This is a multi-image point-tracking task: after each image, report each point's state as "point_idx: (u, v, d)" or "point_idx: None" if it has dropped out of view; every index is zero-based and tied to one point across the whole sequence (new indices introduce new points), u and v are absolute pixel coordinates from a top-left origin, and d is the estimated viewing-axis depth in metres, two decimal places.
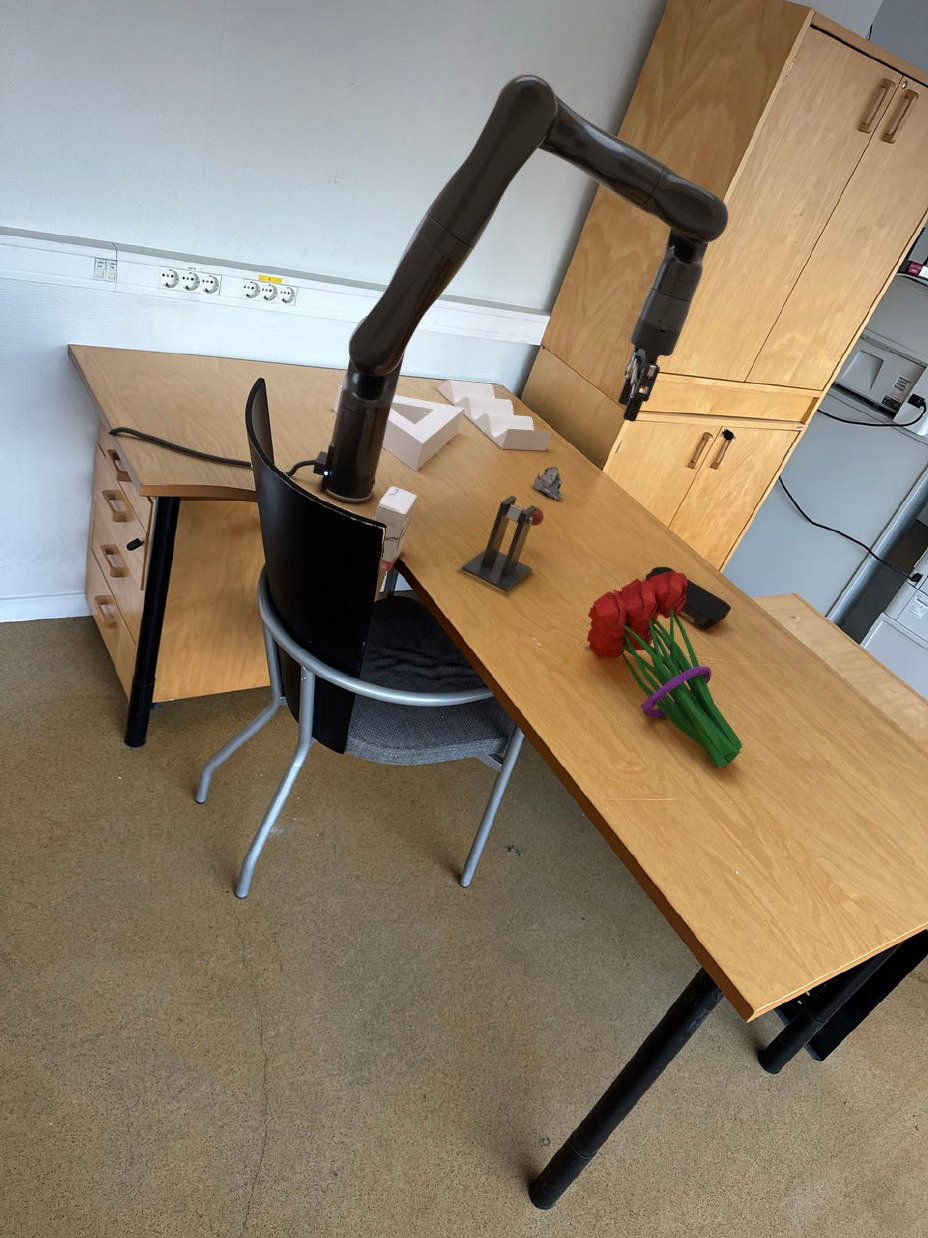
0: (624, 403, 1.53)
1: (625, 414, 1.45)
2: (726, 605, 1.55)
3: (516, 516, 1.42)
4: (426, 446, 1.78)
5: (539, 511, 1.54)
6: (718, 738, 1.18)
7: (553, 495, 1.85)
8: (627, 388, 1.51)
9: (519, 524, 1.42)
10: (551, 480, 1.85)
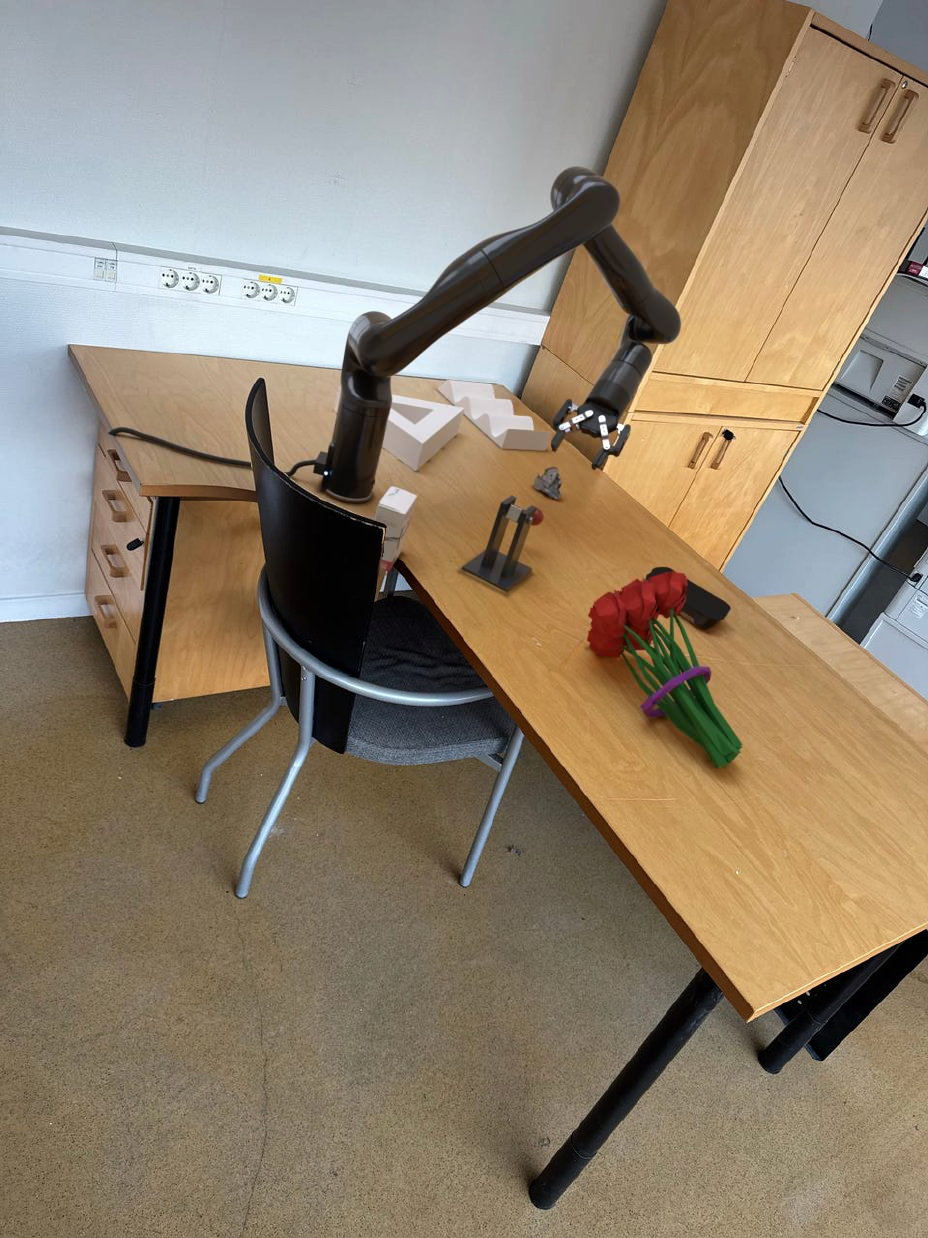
0: (555, 449, 1.61)
1: (596, 462, 1.57)
2: (726, 605, 1.55)
3: (516, 516, 1.42)
4: (426, 446, 1.78)
5: (539, 511, 1.54)
6: (718, 738, 1.18)
7: (553, 495, 1.85)
8: (562, 436, 1.61)
9: (519, 524, 1.42)
10: (551, 480, 1.85)
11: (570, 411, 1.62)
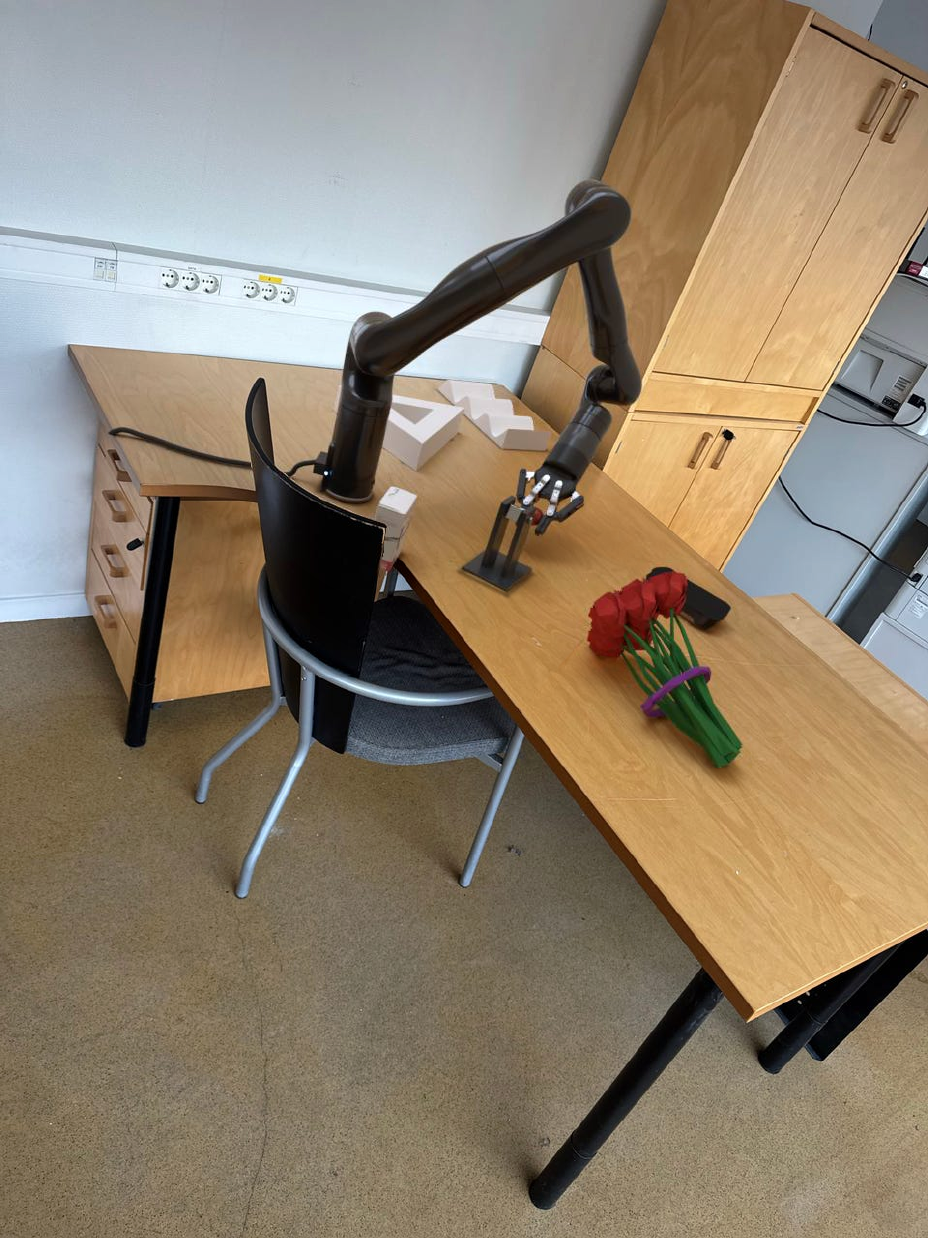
0: None
1: (539, 529, 1.53)
2: (726, 605, 1.55)
3: (516, 516, 1.42)
4: (426, 446, 1.78)
5: (539, 511, 1.54)
6: (718, 738, 1.18)
7: None
8: None
9: (519, 524, 1.42)
10: None
11: (528, 480, 1.57)
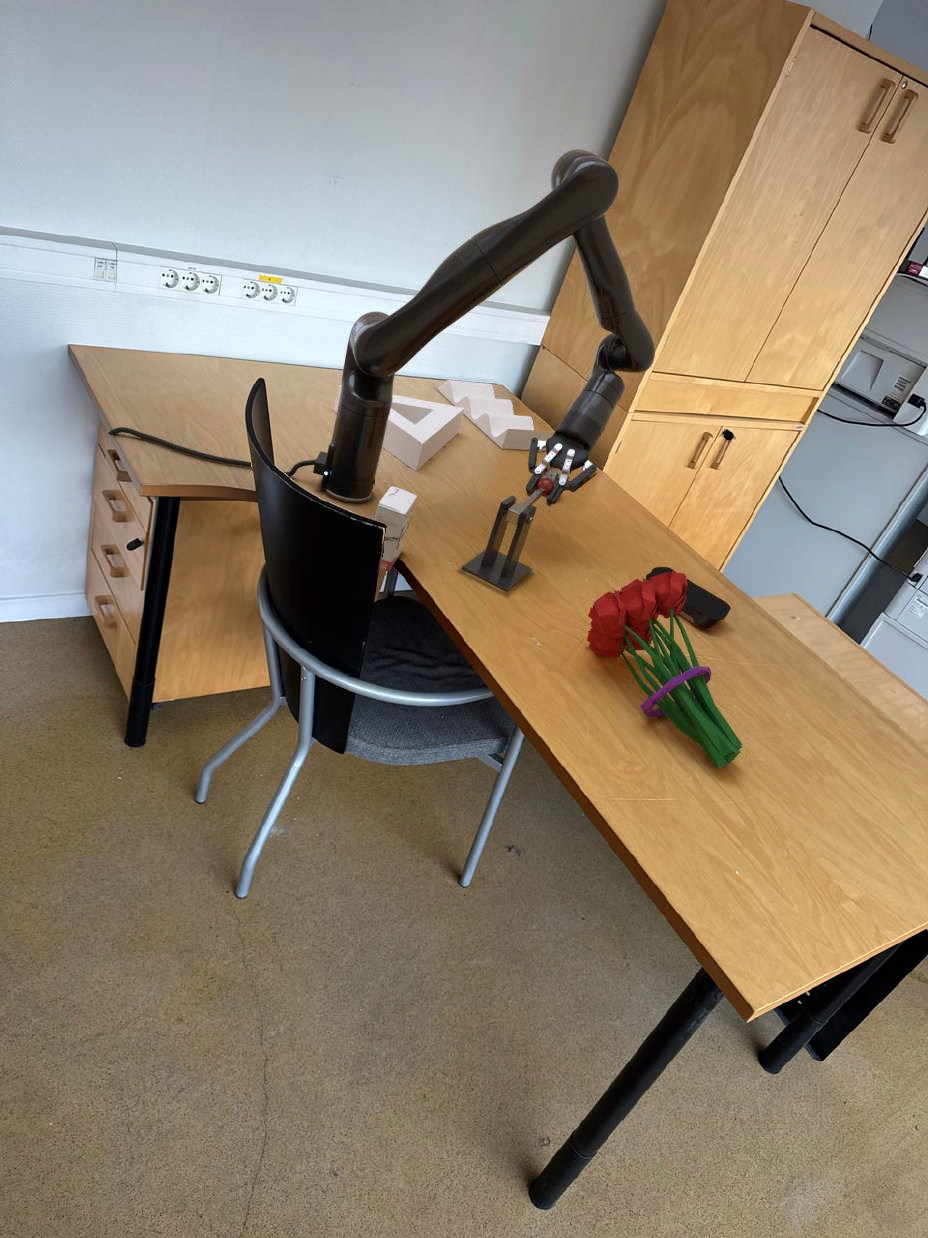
0: (530, 494, 1.52)
1: (551, 498, 1.50)
2: (726, 605, 1.55)
3: (515, 520, 1.43)
4: (426, 446, 1.78)
5: (548, 484, 1.51)
6: (718, 738, 1.18)
7: None
8: (538, 480, 1.52)
9: (519, 524, 1.42)
10: None
11: (540, 449, 1.54)
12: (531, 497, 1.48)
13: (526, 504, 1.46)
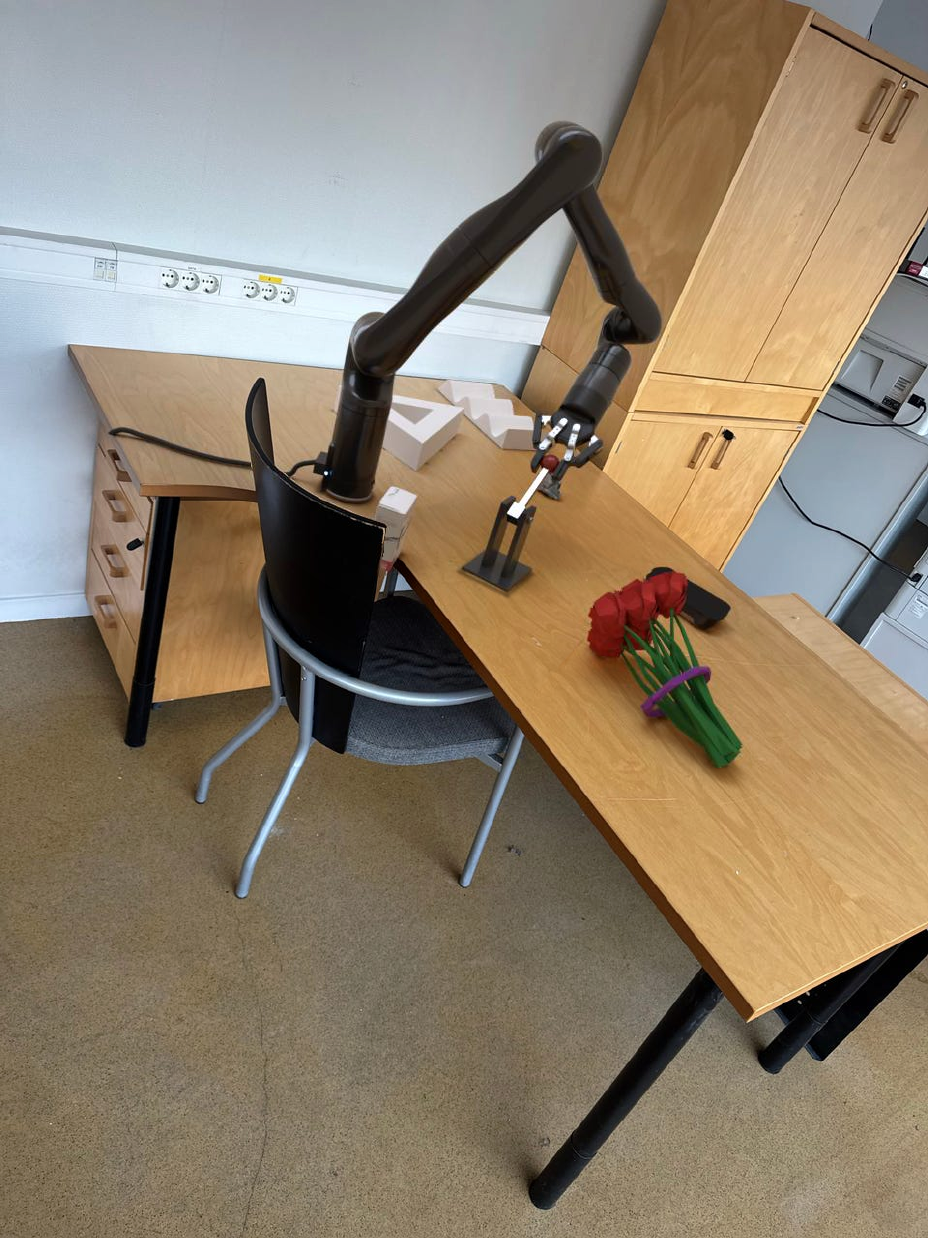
0: (535, 470, 1.48)
1: (556, 474, 1.46)
2: (726, 605, 1.55)
3: (515, 522, 1.43)
4: (426, 446, 1.78)
5: (551, 464, 1.46)
6: (718, 738, 1.18)
7: (553, 495, 1.85)
8: (542, 457, 1.48)
9: (519, 524, 1.42)
10: (551, 480, 1.85)
11: (544, 424, 1.50)
12: (533, 486, 1.45)
13: (527, 498, 1.44)
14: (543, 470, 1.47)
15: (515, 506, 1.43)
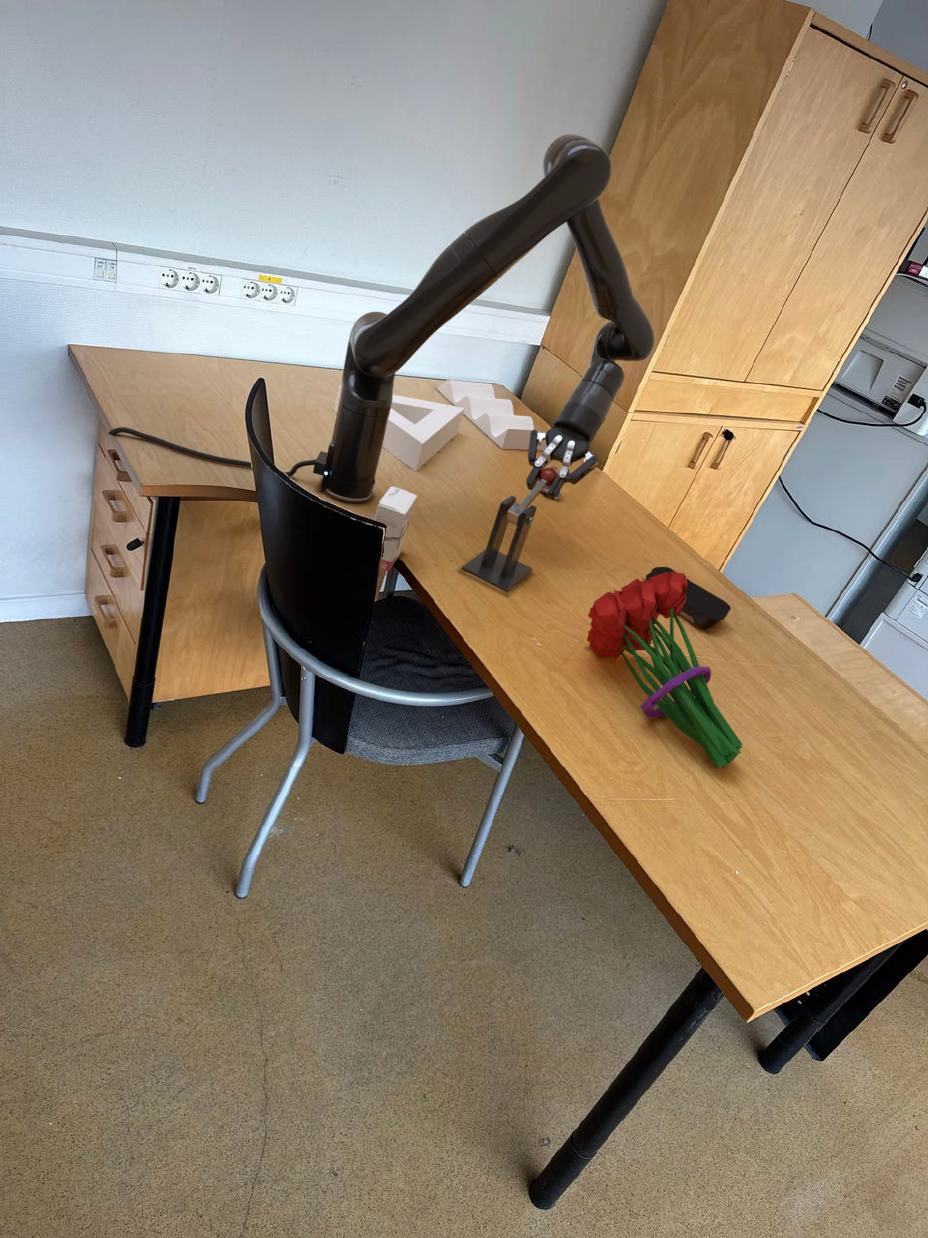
0: (531, 487, 1.50)
1: (552, 491, 1.48)
2: (726, 605, 1.55)
3: (515, 521, 1.43)
4: (426, 446, 1.78)
5: (550, 475, 1.49)
6: (718, 738, 1.18)
7: None
8: (538, 473, 1.50)
9: (519, 524, 1.42)
10: None
11: (539, 441, 1.52)
12: (532, 492, 1.47)
13: (526, 501, 1.45)
14: (542, 480, 1.49)
15: (516, 505, 1.43)
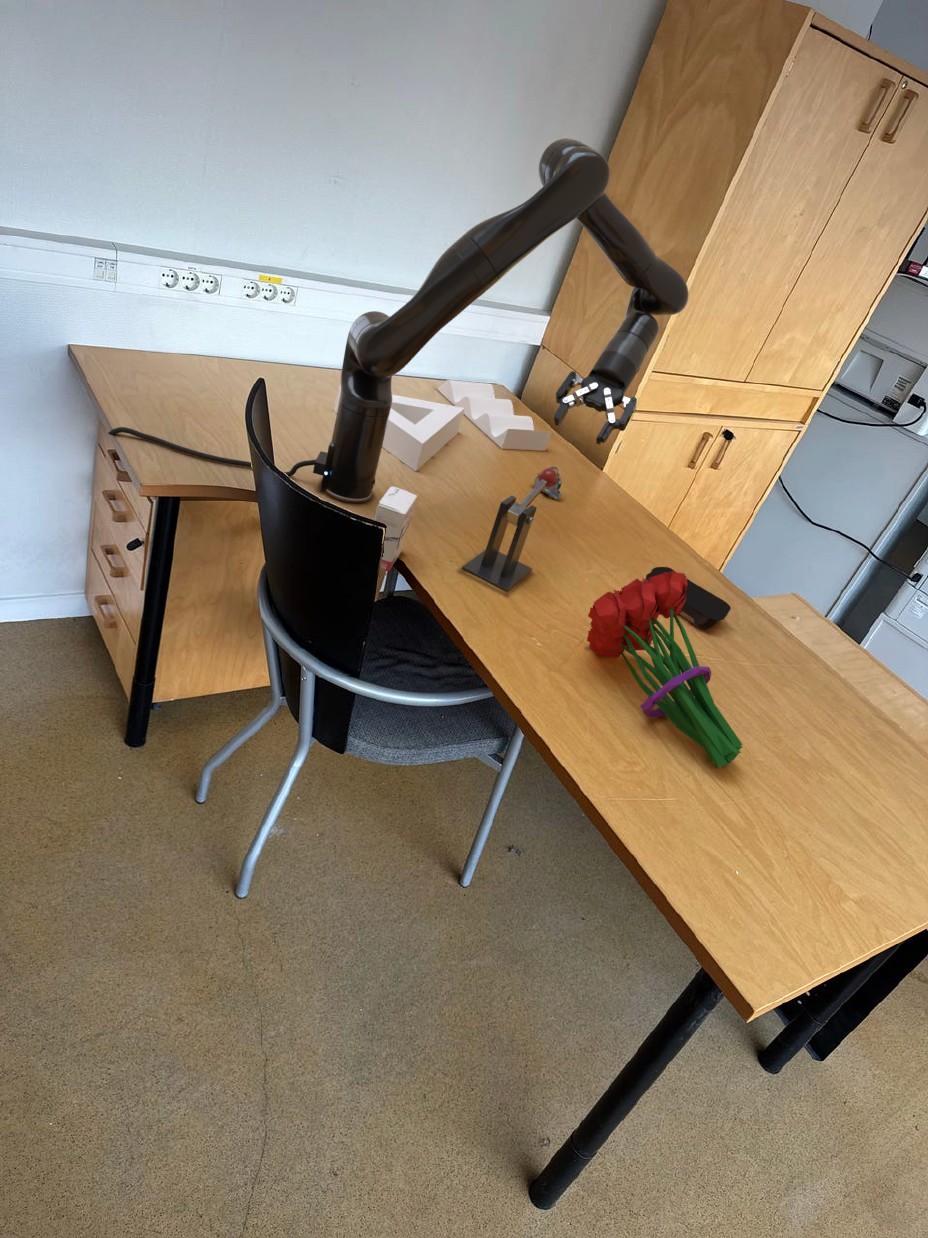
0: (558, 423, 1.55)
1: (601, 436, 1.52)
2: (726, 605, 1.55)
3: (515, 521, 1.43)
4: (426, 446, 1.78)
5: (550, 476, 1.49)
6: (718, 738, 1.18)
7: (553, 495, 1.85)
8: (565, 410, 1.55)
9: (519, 524, 1.42)
10: None
11: (574, 384, 1.57)
12: (532, 492, 1.47)
13: (526, 502, 1.45)
14: (542, 481, 1.49)
15: (516, 505, 1.43)
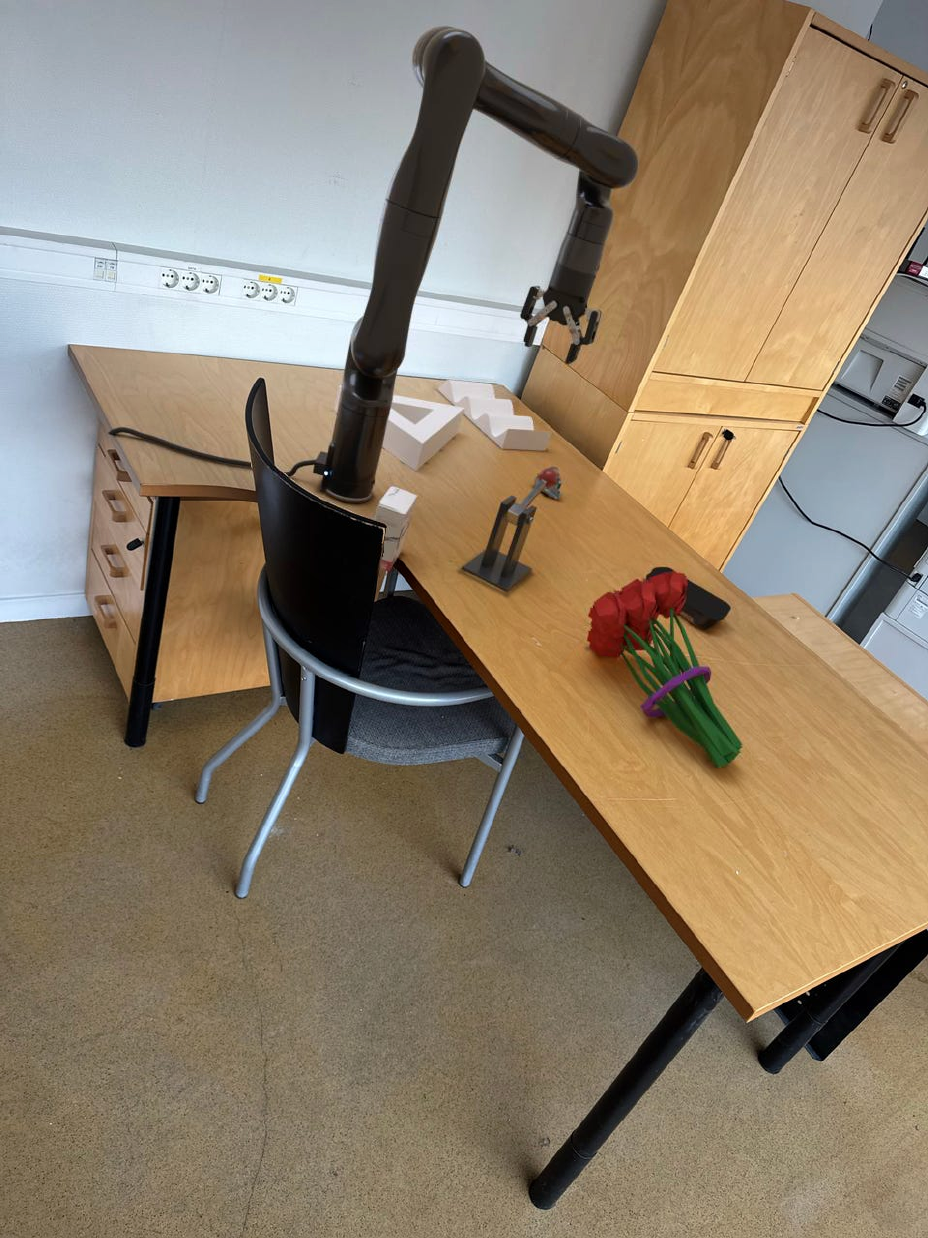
0: (530, 345, 1.58)
1: (569, 360, 1.54)
2: (726, 605, 1.55)
3: (515, 521, 1.43)
4: (426, 446, 1.78)
5: (550, 476, 1.49)
6: (718, 738, 1.18)
7: (553, 495, 1.85)
8: (533, 331, 1.56)
9: (519, 524, 1.42)
10: None
11: (536, 299, 1.53)
12: (532, 492, 1.47)
13: (526, 502, 1.45)
14: (542, 481, 1.49)
15: (516, 505, 1.43)
